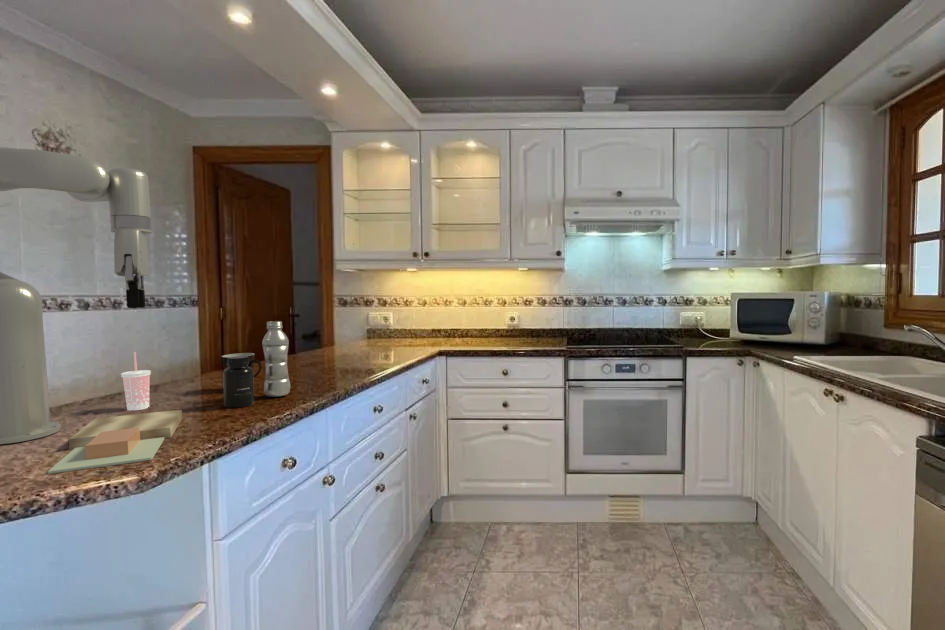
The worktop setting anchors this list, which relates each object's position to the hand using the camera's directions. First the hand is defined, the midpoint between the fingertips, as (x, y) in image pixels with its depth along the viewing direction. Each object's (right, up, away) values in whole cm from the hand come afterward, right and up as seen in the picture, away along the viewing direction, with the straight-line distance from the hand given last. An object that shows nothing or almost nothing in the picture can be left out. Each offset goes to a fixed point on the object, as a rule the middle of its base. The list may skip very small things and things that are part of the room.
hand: (136, 307), depth 113 cm
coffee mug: (+10, -23, +30) cm, 39 cm away
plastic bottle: (+24, -24, +20) cm, 39 cm away
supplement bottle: (+18, -24, +11) cm, 32 cm away
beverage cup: (-7, -25, +10) cm, 28 cm away
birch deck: (+7, -26, -11) cm, 29 cm away
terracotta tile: (+12, -26, -23) cm, 37 cm away
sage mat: (+13, -26, -25) cm, 38 cm away
